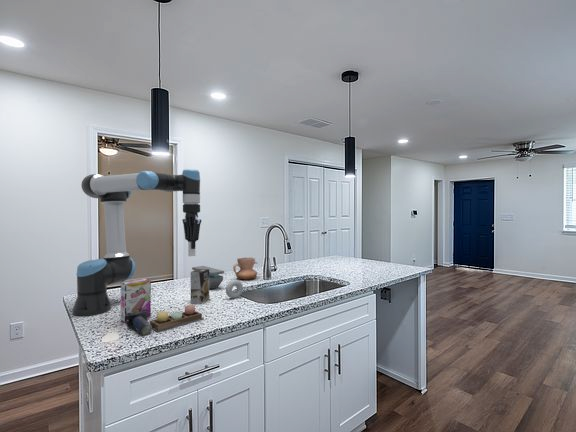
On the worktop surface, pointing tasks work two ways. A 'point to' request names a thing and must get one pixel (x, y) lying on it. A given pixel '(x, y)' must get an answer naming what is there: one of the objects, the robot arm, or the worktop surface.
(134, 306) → the candy bar box
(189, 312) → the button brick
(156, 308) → the worktop surface
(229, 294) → the donut
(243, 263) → the ceramic jug
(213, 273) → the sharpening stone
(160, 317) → the button ochre
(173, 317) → the button sage
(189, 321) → the wooden tray
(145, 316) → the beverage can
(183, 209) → the robot arm
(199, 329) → the worktop surface
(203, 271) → the coffee box
